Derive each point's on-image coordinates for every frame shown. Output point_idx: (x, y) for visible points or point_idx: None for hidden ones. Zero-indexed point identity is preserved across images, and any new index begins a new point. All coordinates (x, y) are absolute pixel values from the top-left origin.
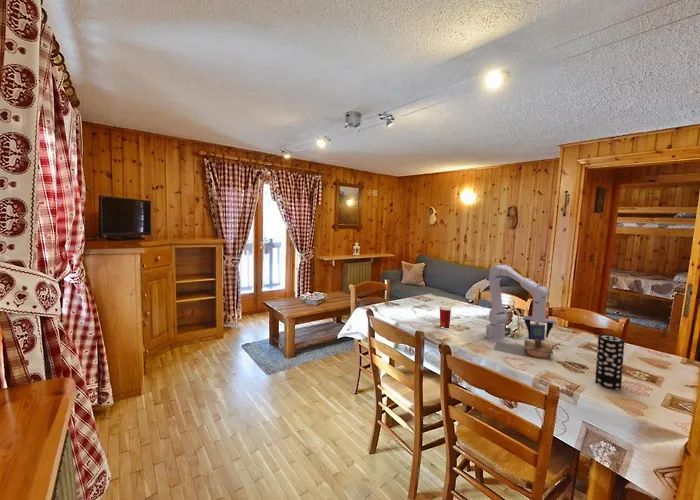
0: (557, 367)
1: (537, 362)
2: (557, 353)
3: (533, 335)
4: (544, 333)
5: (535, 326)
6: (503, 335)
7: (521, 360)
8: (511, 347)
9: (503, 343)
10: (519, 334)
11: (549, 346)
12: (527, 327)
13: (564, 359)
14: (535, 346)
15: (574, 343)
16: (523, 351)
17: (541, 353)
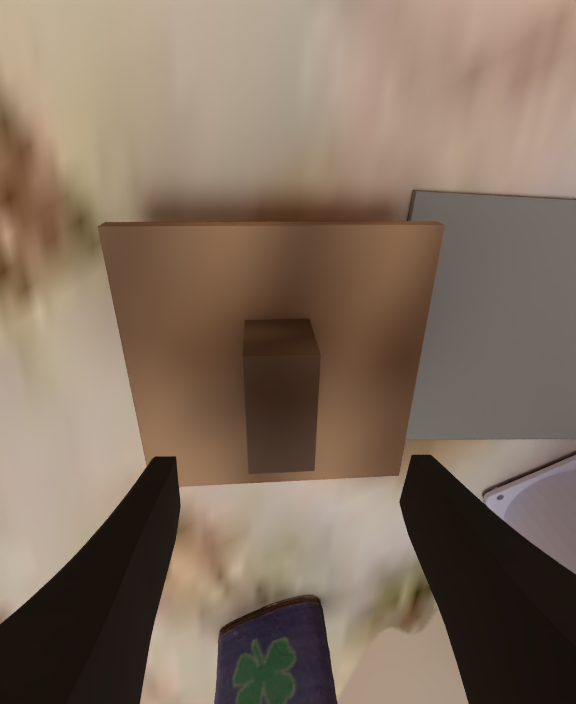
0: (62, 23)
1: (282, 78)
2: (115, 441)
3: (292, 634)
4: (217, 682)
5: None
6: (542, 527)
7: (456, 40)
8: (488, 368)
9: (535, 426)
10: (370, 633)
11: (158, 420)
12: (543, 553)
13: (40, 333)
14: (309, 322)
15: None
16: None
17: None
